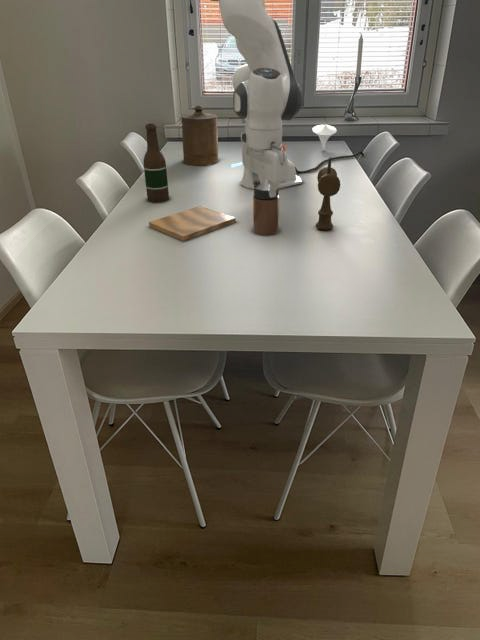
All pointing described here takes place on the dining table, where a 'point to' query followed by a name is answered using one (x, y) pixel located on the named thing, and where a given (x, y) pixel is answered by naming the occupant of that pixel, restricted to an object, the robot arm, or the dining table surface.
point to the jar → (265, 216)
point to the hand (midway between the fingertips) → (263, 191)
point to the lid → (263, 191)
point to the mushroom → (324, 133)
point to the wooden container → (200, 138)
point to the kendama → (327, 195)
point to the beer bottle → (155, 168)
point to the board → (192, 223)
